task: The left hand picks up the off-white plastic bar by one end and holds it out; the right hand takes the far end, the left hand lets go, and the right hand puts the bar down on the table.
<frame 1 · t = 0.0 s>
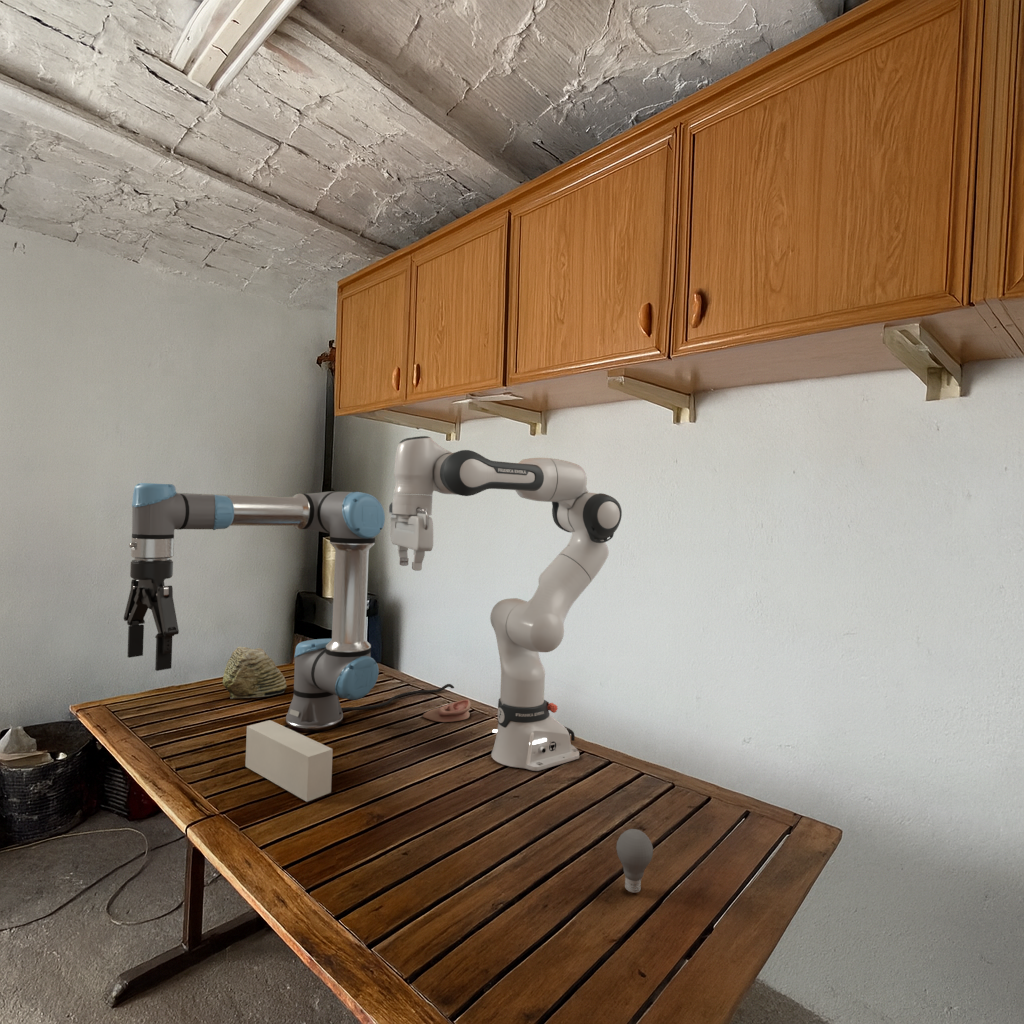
left hand: (148, 662, 129), 28 cm above the table, tool pointing down, fingers open, 13 cm apart
right hand: (410, 567, 144), 48 cm above the table, tool pointing down, fingers open, 8 cm apart
anatomical model: (446, 716, 186), on the table
fossil: (254, 694, 198), on the table
light bulb: (632, 891, 106), on the table
bar: (286, 779, 141), on the table
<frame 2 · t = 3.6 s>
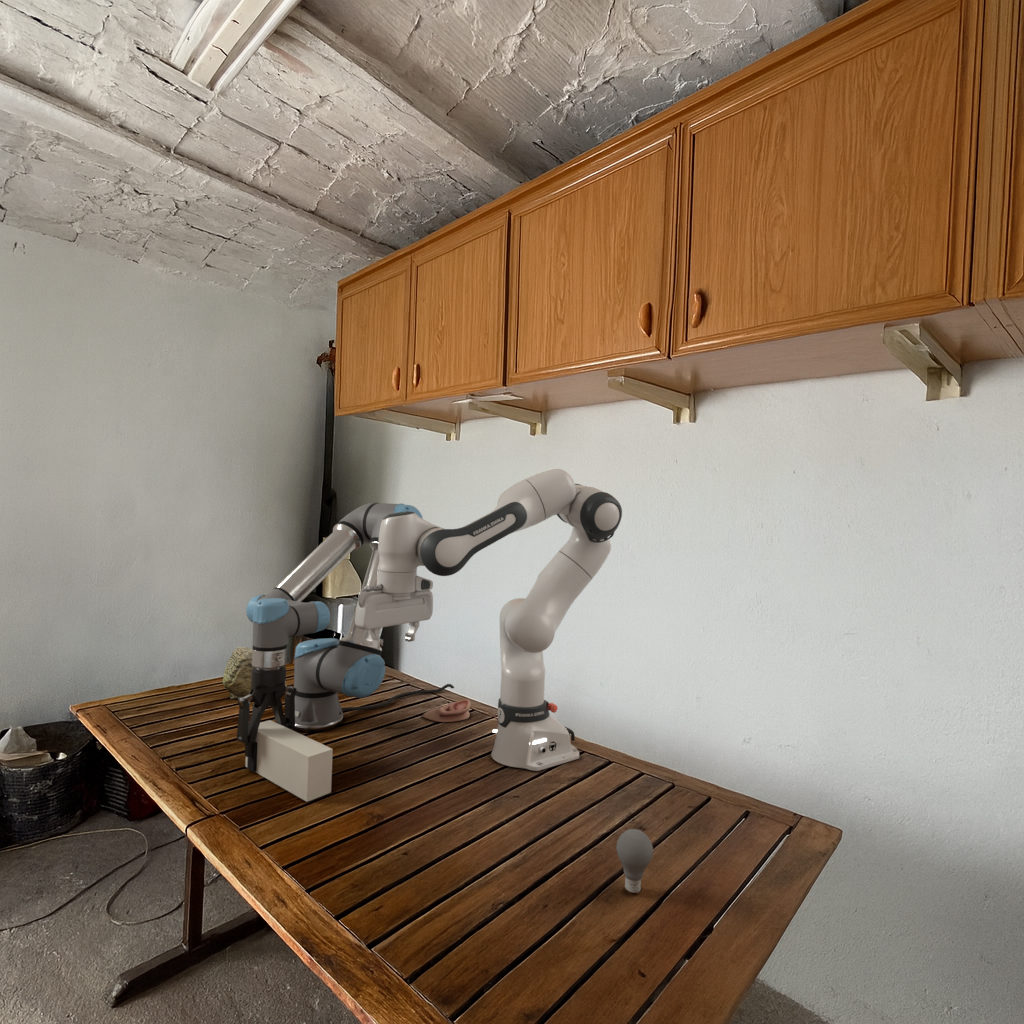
left hand: (265, 765, 147), 0 cm above the table, tool pointing down, fingers closed on bar, 6 cm apart
right hand: (394, 644, 143), 31 cm above the table, tool pointing down, fingers open, 8 cm apart
bar: (286, 779, 141), on the table, touching left hand
everything else where it was.
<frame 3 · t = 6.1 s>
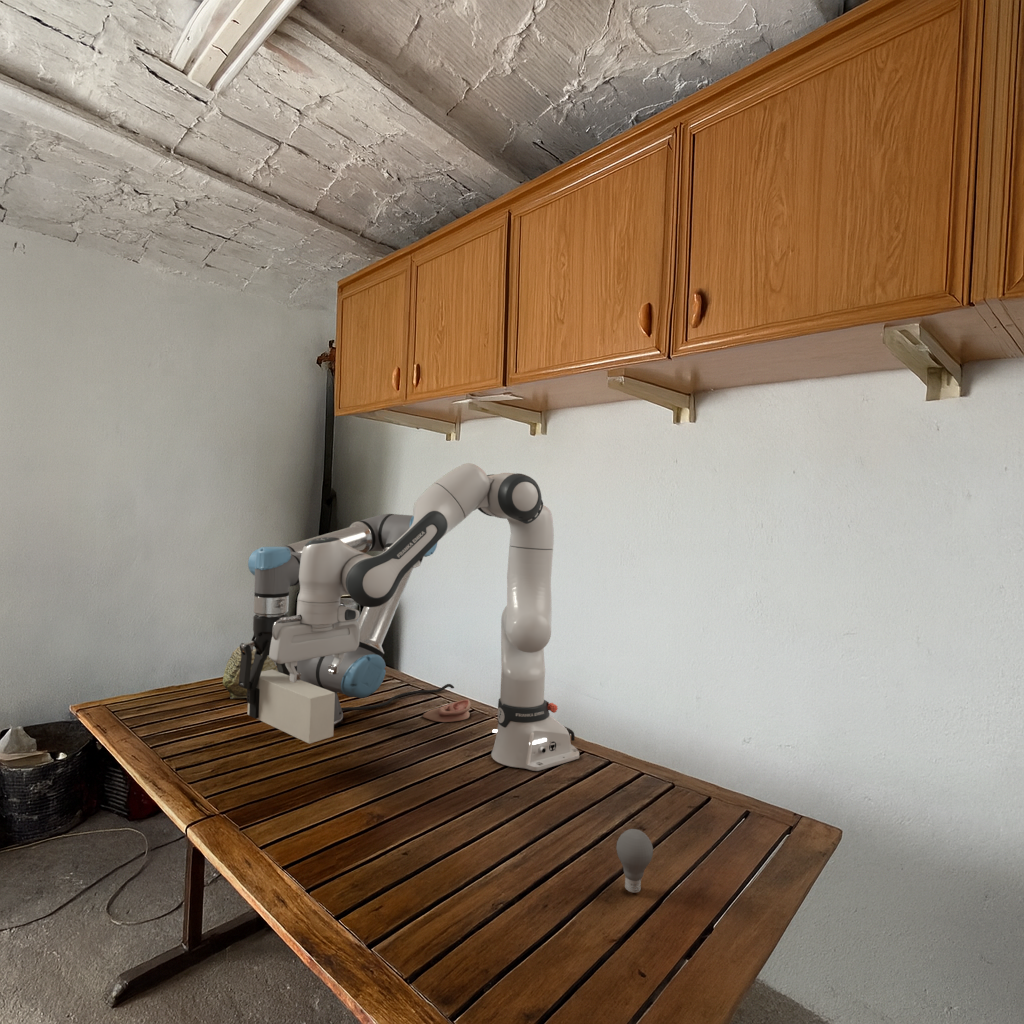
left hand: (267, 713, 147), 13 cm above the table, tool pointing down, fingers closed on bar, 6 cm apart
right hand: (314, 677, 135), 25 cm above the table, tool pointing down, fingers open, 8 cm apart
bar: (288, 724, 141), point 12 cm above the table, touching left hand
everything else where it was.
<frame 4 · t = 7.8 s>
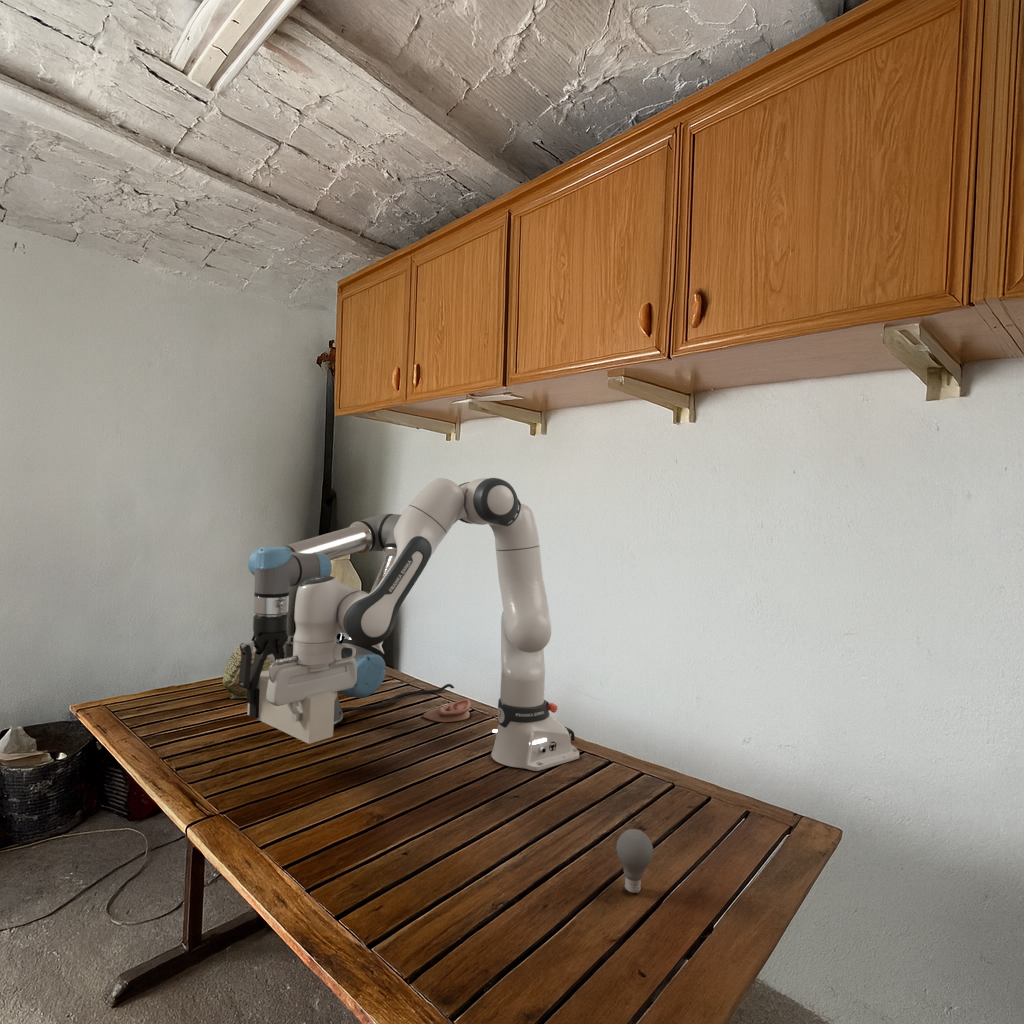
left hand: (267, 713, 147), 13 cm above the table, tool pointing down, fingers closed on bar, 6 cm apart
right hand: (312, 716, 136), 16 cm above the table, tool pointing down, fingers closed on bar, 6 cm apart
bar: (288, 725, 141), point 12 cm above the table, touching left hand, right hand
everything else where it was.
when the left hand's fingers open (13 cm above the table, at t = 8.7 s): bar stays where it is, held by the right hand.
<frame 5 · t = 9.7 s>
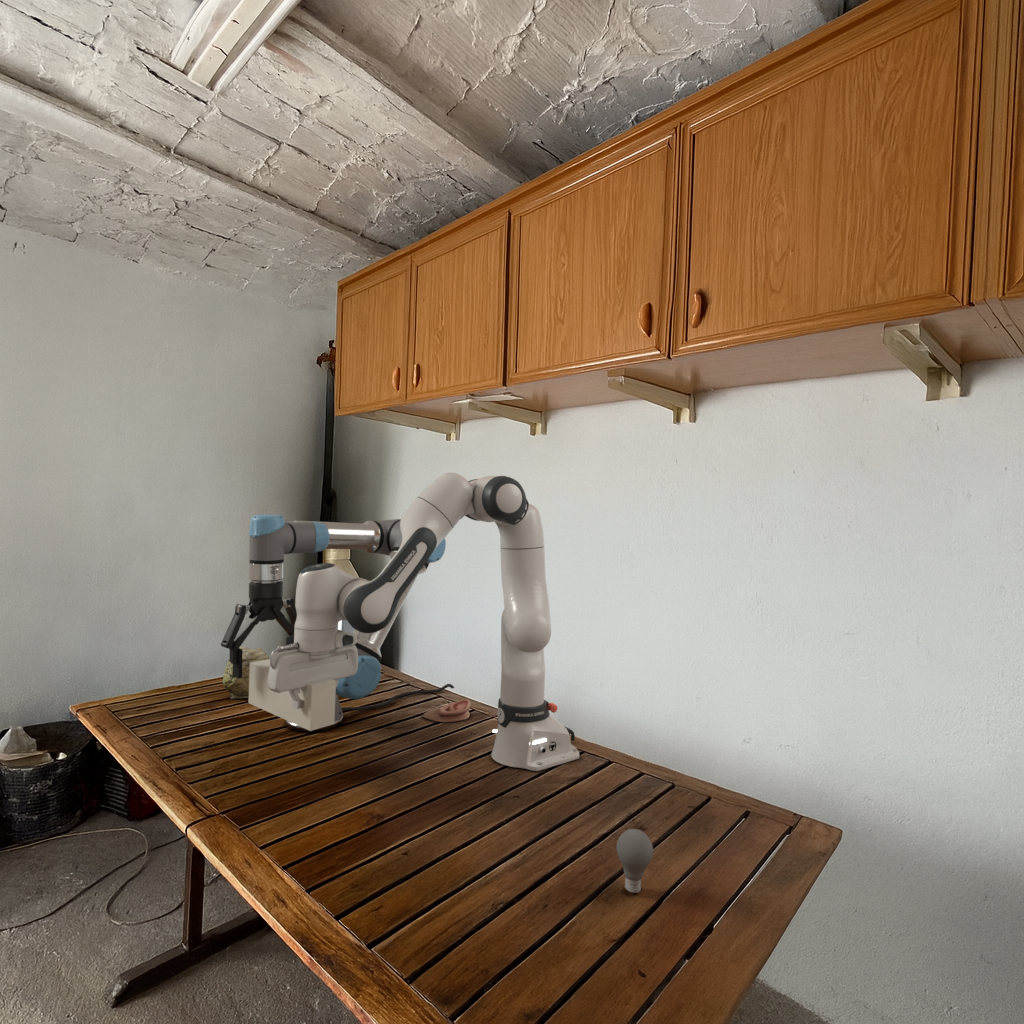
left hand: (264, 670, 149), 22 cm above the table, tool pointing down, fingers open, 13 cm apart
right hand: (313, 704, 135), 19 cm above the table, tool pointing down, fingers closed on bar, 6 cm apart
bar: (289, 713, 141), point 15 cm above the table, touching right hand
everything else where it was.
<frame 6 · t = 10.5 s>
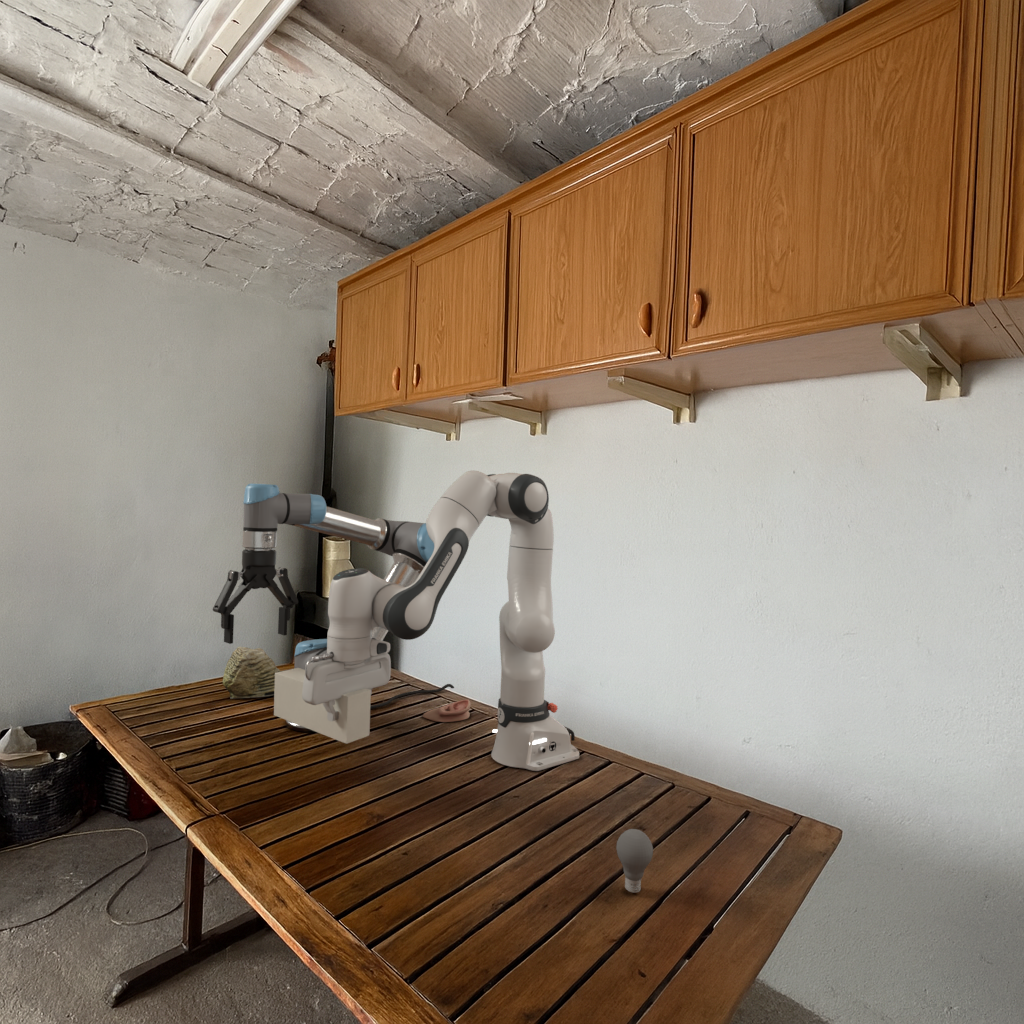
left hand: (256, 638, 150), 29 cm above the table, tool pointing down, fingers open, 13 cm apart
right hand: (347, 715, 130), 19 cm above the table, tool pointing down, fingers closed on bar, 6 cm apart
bar: (319, 724, 135), point 15 cm above the table, touching right hand
everything else where it was.
when the right hand's fingers open (6 cm above the table, at t = 13.7 s): bar drops 1 cm, on the table.
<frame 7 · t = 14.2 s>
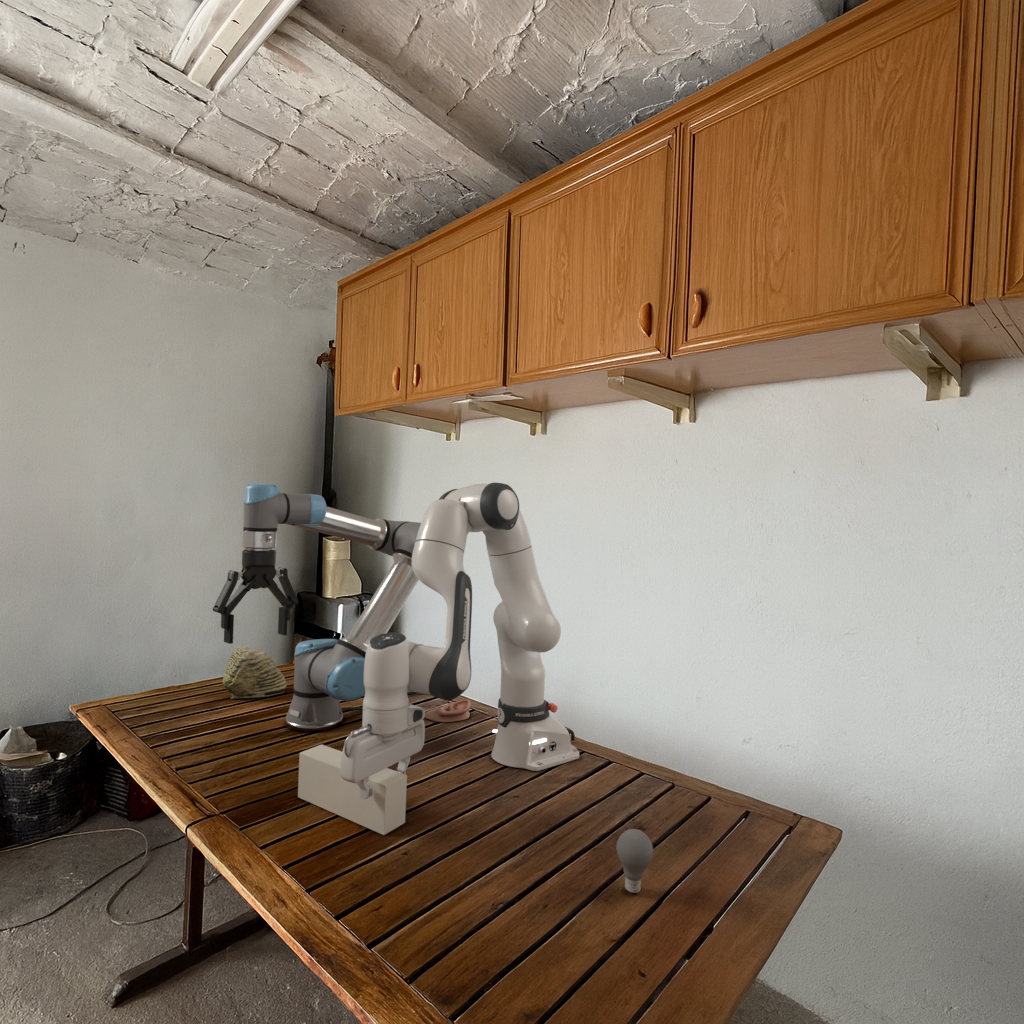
left hand: (256, 638, 150), 29 cm above the table, tool pointing down, fingers open, 13 cm apart
right hand: (383, 787, 124), 7 cm above the table, tool pointing down, fingers open, 8 cm apart
bar: (349, 809, 129), on the table
everything else where it was.
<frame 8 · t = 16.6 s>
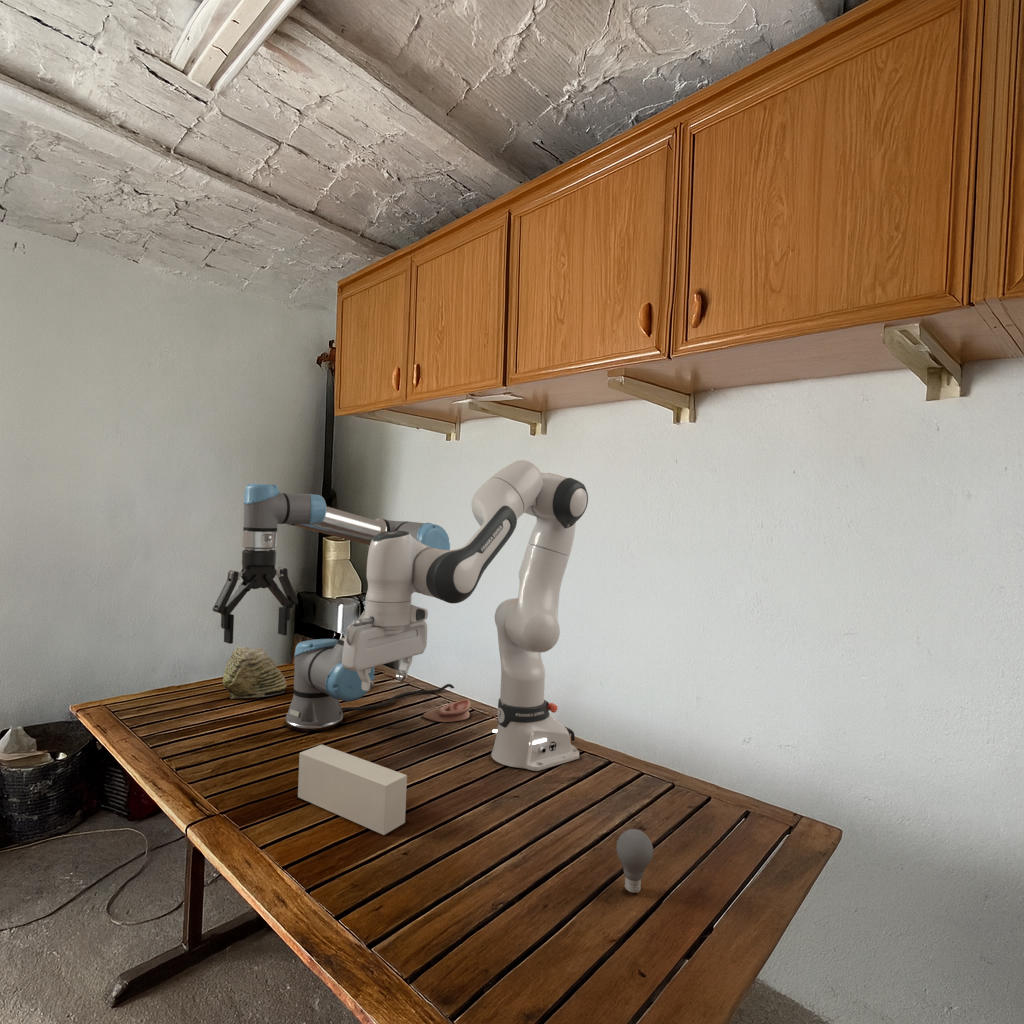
left hand: (256, 638, 150), 29 cm above the table, tool pointing down, fingers open, 13 cm apart
right hand: (385, 684, 124), 27 cm above the table, tool pointing down, fingers open, 8 cm apart
nothing on the table moved.
at the end: bar inside the target area (8.3 cm from its centre), on the table; the left hand is holding nothing; the right hand is holding nothing; bar at rest at the end (0.0 cm/s) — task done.
